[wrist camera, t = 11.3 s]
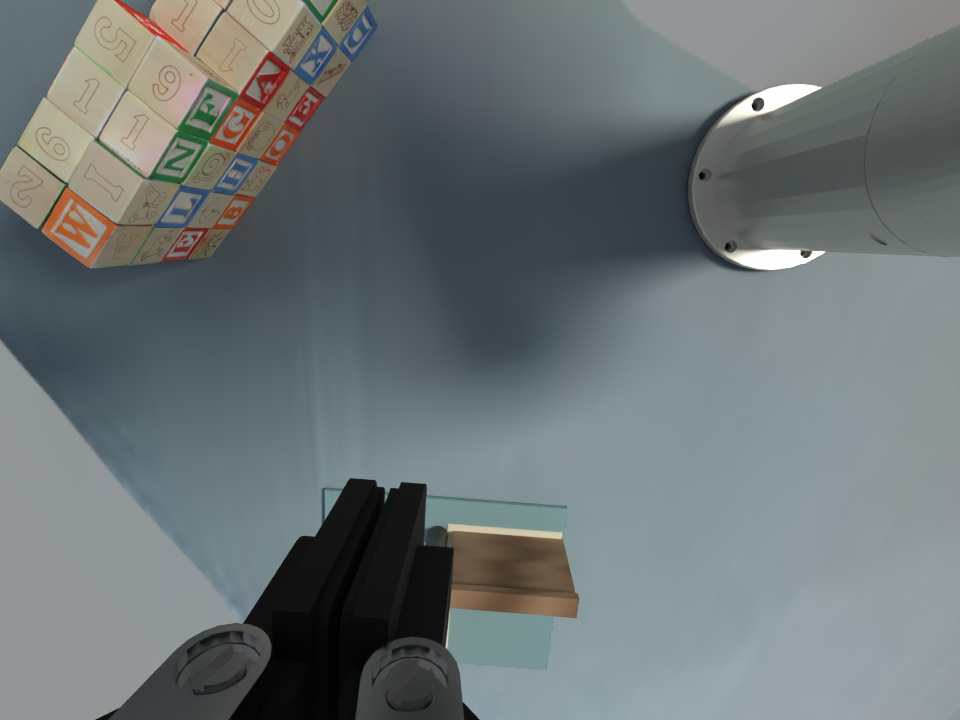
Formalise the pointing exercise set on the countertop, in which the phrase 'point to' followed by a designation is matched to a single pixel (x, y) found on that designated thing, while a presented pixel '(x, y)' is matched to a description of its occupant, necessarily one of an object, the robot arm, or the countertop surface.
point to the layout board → (489, 631)
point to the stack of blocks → (174, 122)
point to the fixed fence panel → (509, 573)
